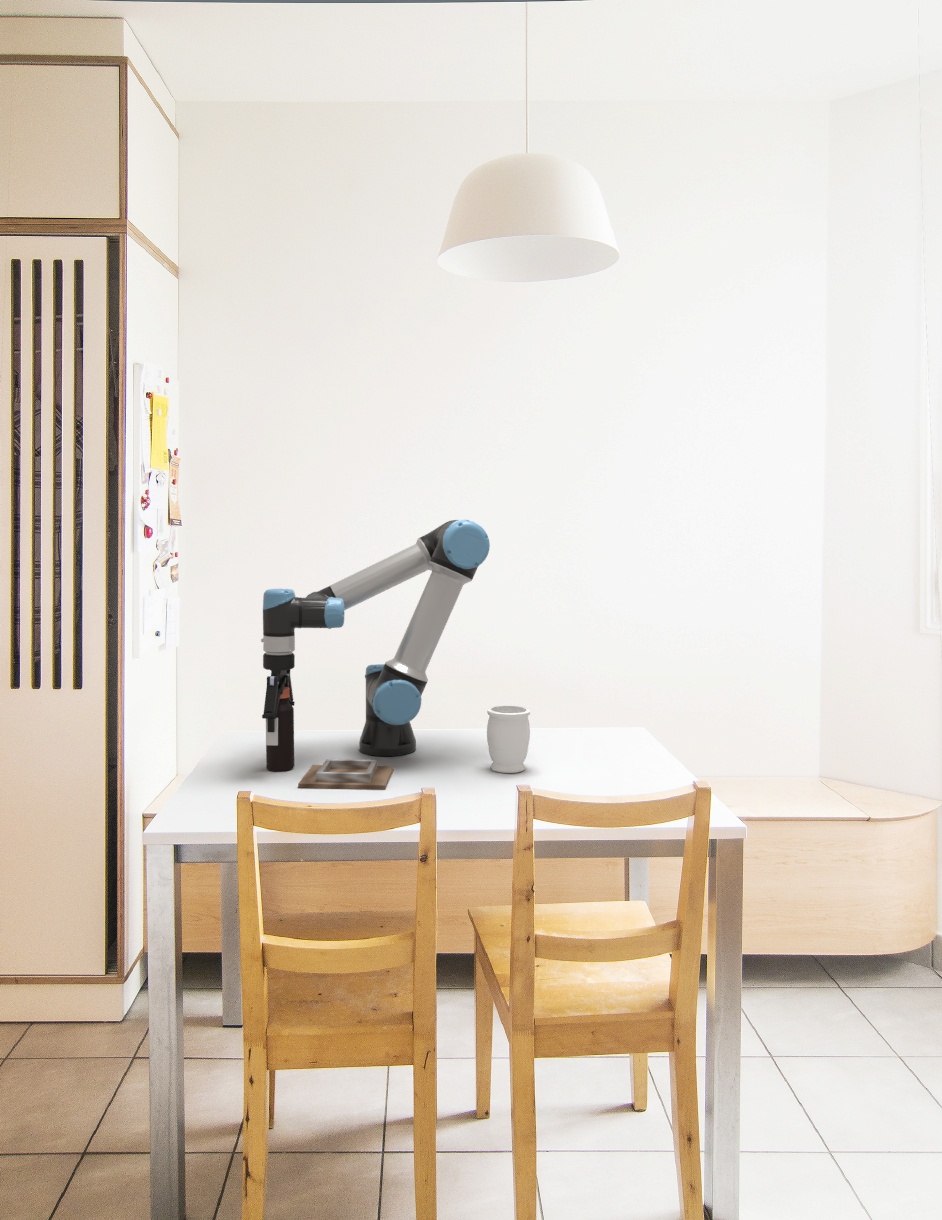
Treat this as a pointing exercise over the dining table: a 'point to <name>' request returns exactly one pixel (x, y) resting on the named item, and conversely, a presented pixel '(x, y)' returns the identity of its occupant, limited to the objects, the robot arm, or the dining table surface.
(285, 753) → the vinegar
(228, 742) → the dining table surface
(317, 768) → the tray
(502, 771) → the jar
